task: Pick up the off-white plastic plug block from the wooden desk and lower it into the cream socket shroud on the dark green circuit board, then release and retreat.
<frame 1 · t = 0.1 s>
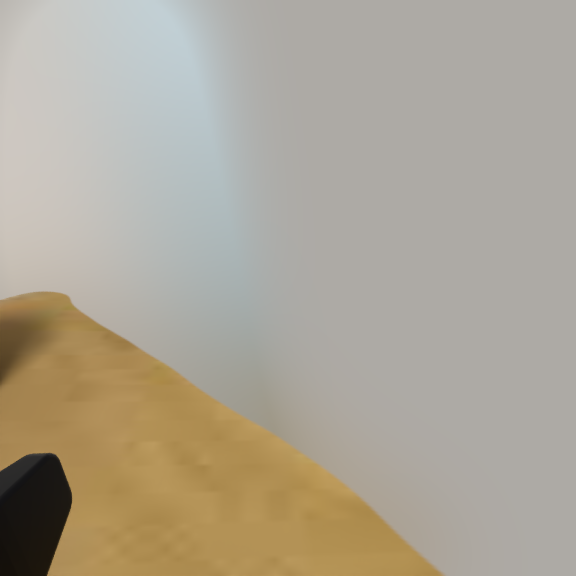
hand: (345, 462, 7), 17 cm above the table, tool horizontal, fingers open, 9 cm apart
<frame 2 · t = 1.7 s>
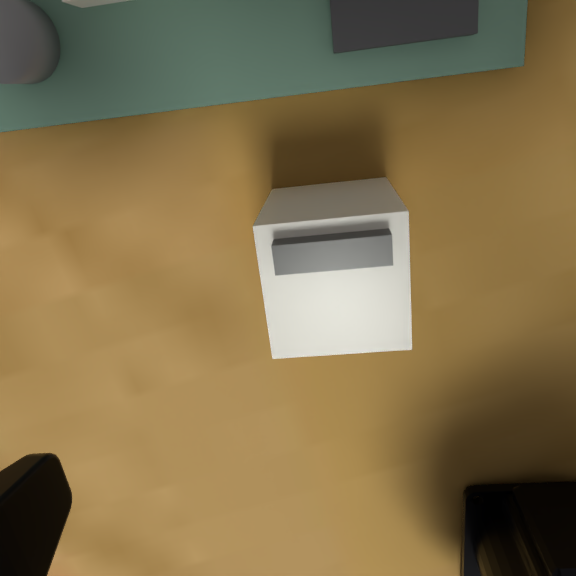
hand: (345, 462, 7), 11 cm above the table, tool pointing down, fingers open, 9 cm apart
plug: (333, 237, 18), on the table
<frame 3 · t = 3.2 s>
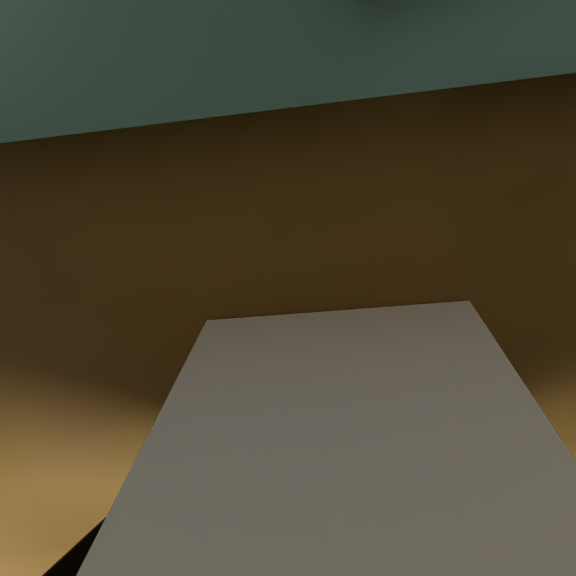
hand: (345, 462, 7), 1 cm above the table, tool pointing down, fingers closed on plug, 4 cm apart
plug: (343, 418, 8), on the table, touching gripper
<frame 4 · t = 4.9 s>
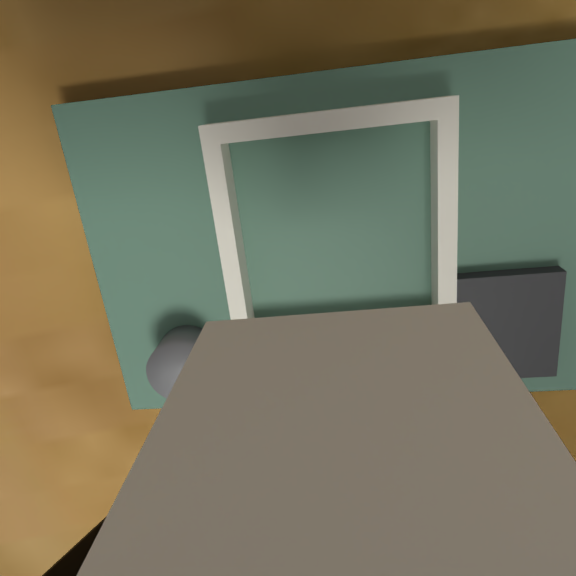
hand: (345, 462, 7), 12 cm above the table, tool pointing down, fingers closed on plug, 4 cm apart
board: (336, 247, 18), on the table
plug: (343, 419, 8), point 11 cm above the table, touching gripper
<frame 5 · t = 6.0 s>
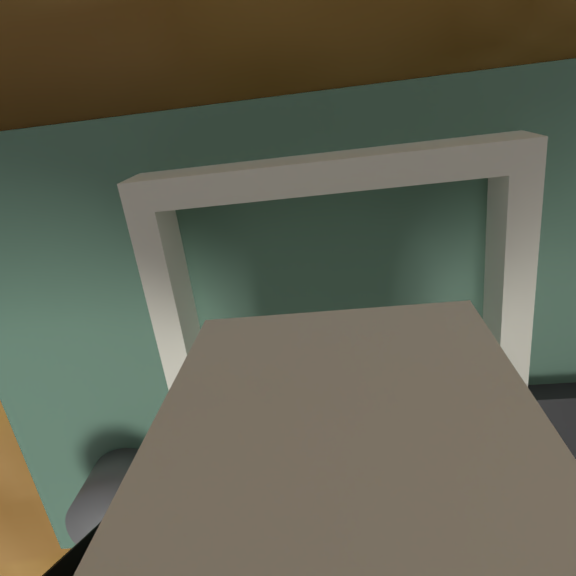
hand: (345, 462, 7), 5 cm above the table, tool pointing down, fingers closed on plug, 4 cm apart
board: (339, 340, 13), on the table
plug: (343, 418, 8), point 4 cm above the table, touching gripper
when the fingers open (4 cm above the table, at t = 6.6 s): plug drops 2 cm, resting on board.
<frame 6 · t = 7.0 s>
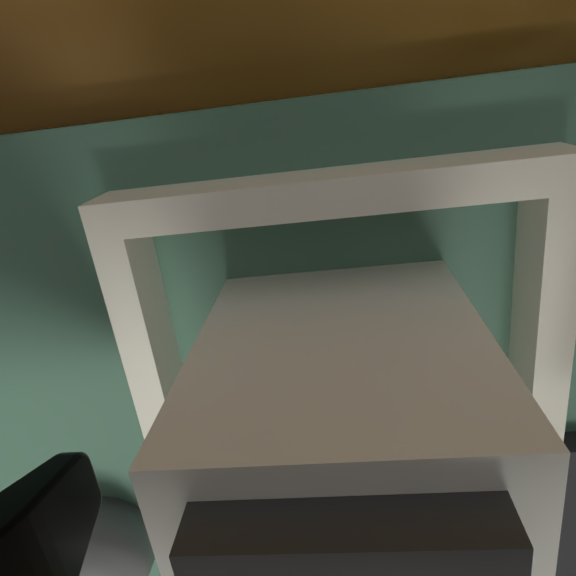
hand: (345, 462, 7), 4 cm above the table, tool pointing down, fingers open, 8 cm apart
board: (342, 376, 11), on the table
plug: (340, 362, 10), point 1 cm above the table, touching board
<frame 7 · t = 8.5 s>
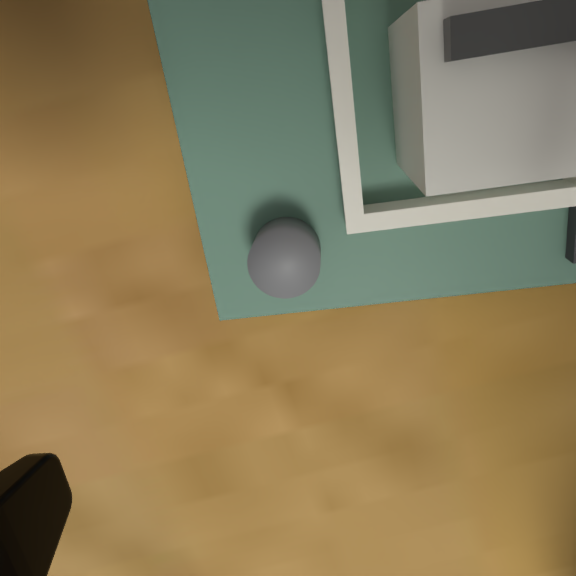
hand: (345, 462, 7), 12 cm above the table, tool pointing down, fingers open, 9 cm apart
board: (450, 119, 16), on the table
plug: (458, 88, 15), point 1 cm above the table, touching board
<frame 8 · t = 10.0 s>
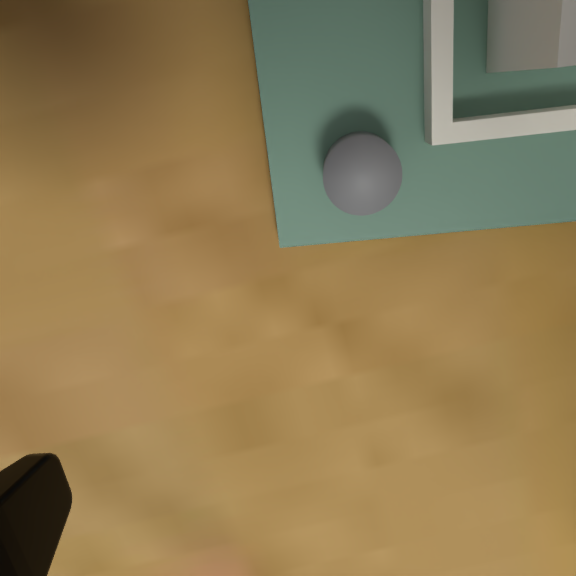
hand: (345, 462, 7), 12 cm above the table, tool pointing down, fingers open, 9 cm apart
board: (543, 30, 15), on the table
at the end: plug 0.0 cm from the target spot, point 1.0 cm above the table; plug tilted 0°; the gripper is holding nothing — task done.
